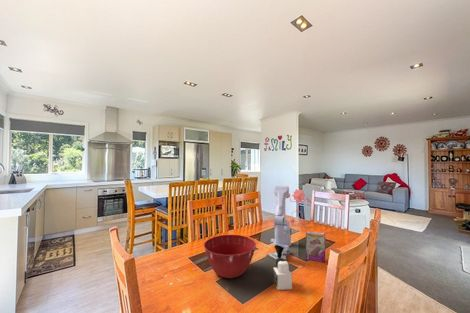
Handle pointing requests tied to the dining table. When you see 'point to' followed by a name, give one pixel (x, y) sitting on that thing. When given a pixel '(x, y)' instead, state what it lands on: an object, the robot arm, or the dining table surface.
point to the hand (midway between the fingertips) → (279, 257)
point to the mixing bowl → (229, 254)
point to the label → (274, 255)
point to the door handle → (284, 253)
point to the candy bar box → (315, 246)
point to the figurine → (298, 196)
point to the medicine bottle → (282, 275)
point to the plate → (274, 258)
